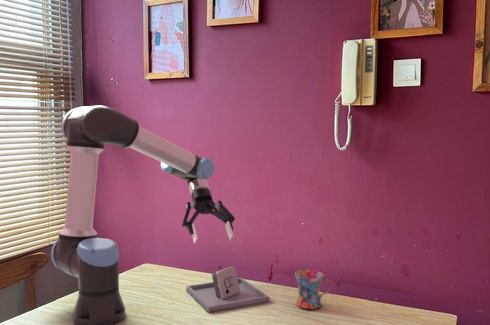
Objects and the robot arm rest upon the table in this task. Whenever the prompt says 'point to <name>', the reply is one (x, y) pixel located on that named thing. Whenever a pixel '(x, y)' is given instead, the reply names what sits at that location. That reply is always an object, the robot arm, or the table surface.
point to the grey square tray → (215, 304)
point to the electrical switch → (226, 282)
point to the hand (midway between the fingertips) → (214, 239)
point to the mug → (309, 288)
